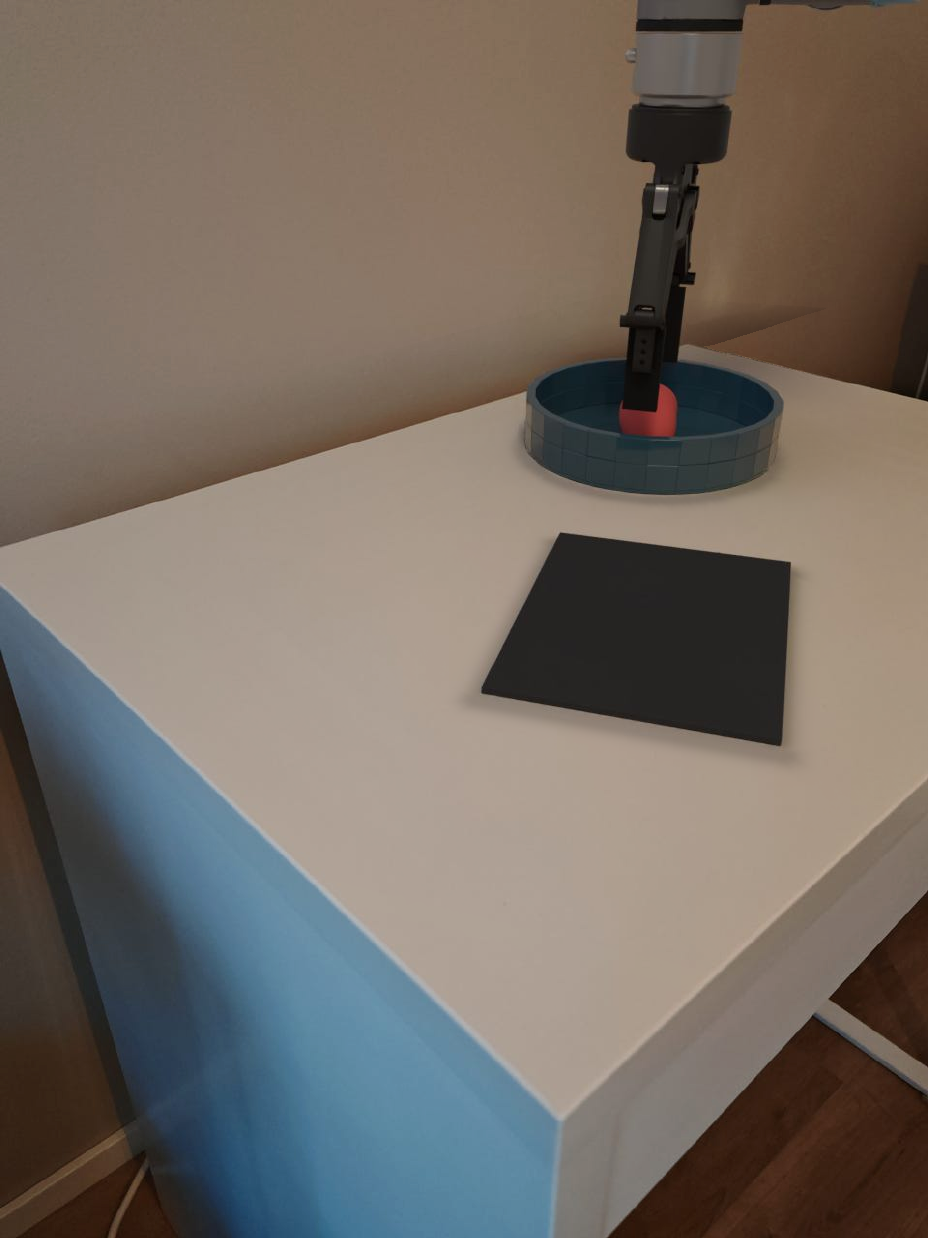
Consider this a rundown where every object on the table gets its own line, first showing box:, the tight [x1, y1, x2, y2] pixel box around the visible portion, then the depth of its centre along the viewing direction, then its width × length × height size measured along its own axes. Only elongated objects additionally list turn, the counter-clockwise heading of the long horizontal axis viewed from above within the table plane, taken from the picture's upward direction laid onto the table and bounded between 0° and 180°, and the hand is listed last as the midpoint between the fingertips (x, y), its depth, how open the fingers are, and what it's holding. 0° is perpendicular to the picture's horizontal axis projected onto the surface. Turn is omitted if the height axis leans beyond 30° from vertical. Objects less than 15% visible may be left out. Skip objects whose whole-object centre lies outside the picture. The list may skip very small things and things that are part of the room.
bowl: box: [524, 357, 785, 495], centre depth 84 cm, size 22×22×4 cm
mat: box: [481, 531, 792, 746], centre depth 59 cm, size 16×20×1 cm
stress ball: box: [619, 383, 677, 437], centre depth 84 cm, size 5×9×6 cm, turn 157°
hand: (651, 383), depth 82 cm, fingers open, 13 cm apart
